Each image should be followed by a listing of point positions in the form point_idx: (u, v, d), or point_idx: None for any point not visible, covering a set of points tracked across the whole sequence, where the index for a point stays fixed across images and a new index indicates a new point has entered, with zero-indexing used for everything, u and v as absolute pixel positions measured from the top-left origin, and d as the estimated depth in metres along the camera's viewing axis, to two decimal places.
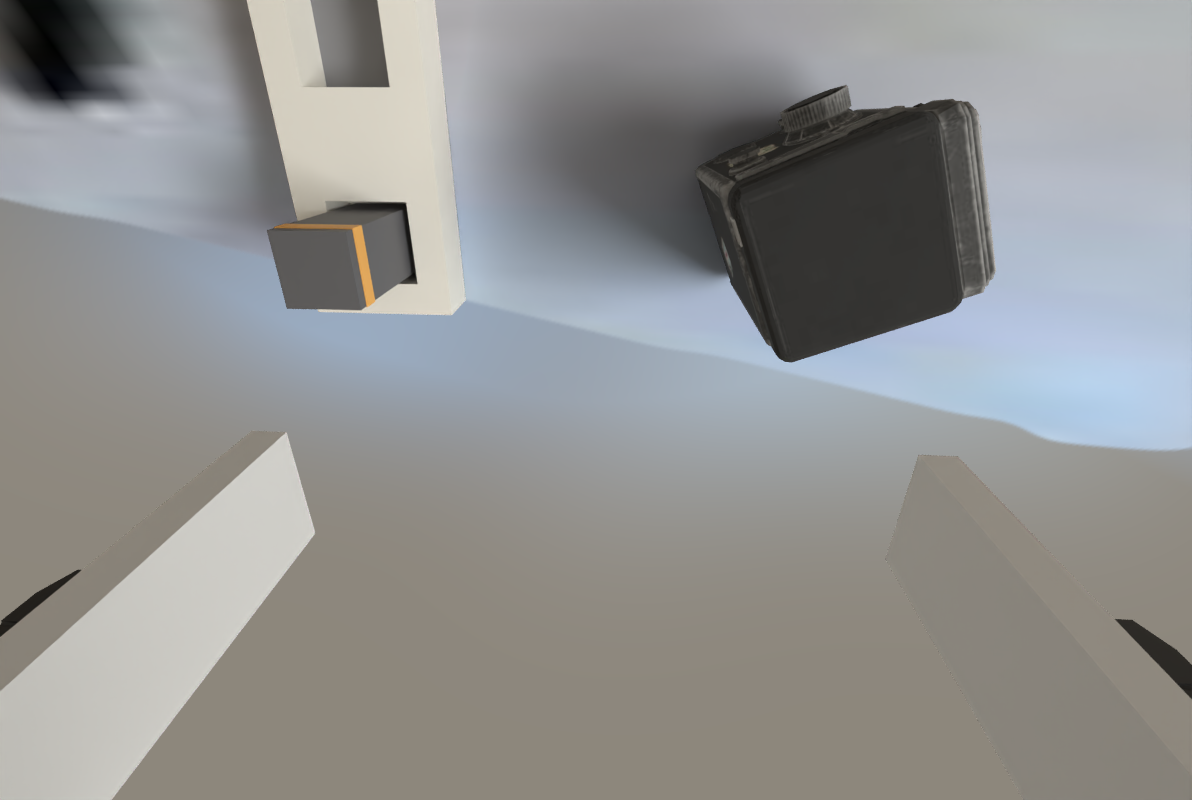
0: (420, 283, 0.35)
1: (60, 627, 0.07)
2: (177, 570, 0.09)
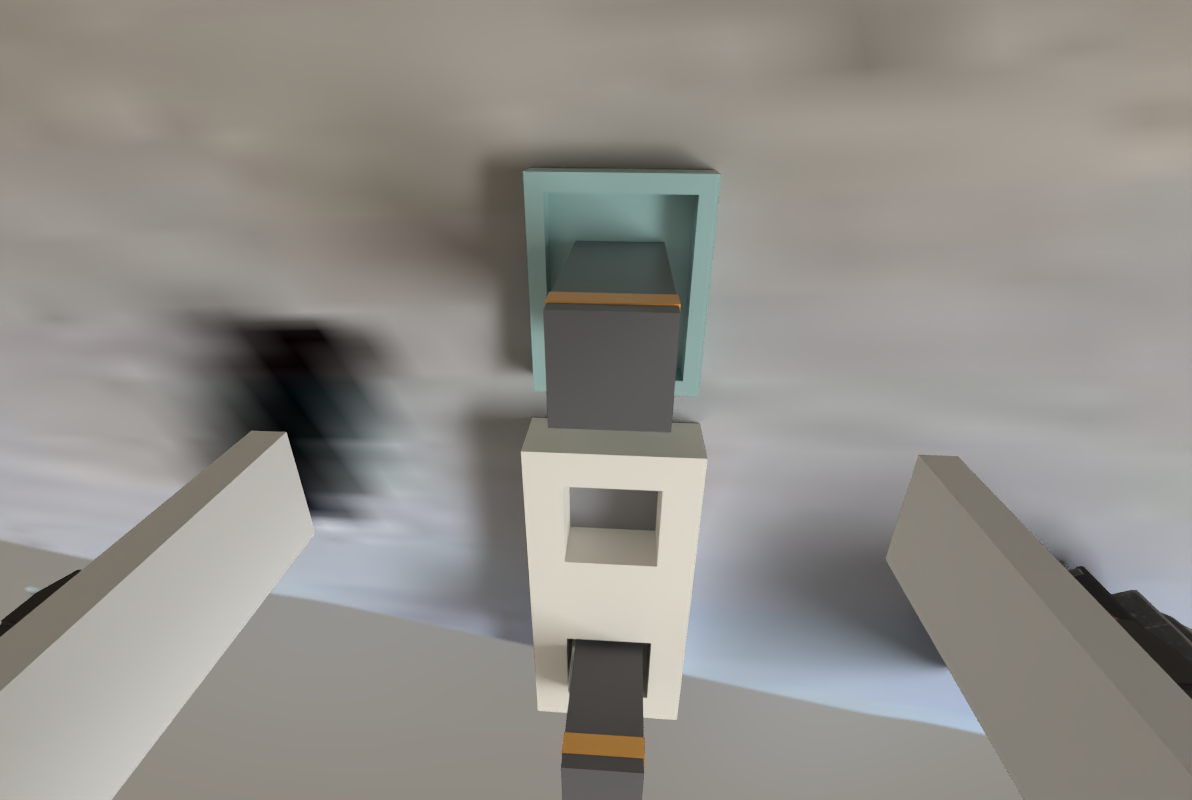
0: (650, 697, 0.35)
1: (60, 627, 0.07)
2: (177, 570, 0.09)
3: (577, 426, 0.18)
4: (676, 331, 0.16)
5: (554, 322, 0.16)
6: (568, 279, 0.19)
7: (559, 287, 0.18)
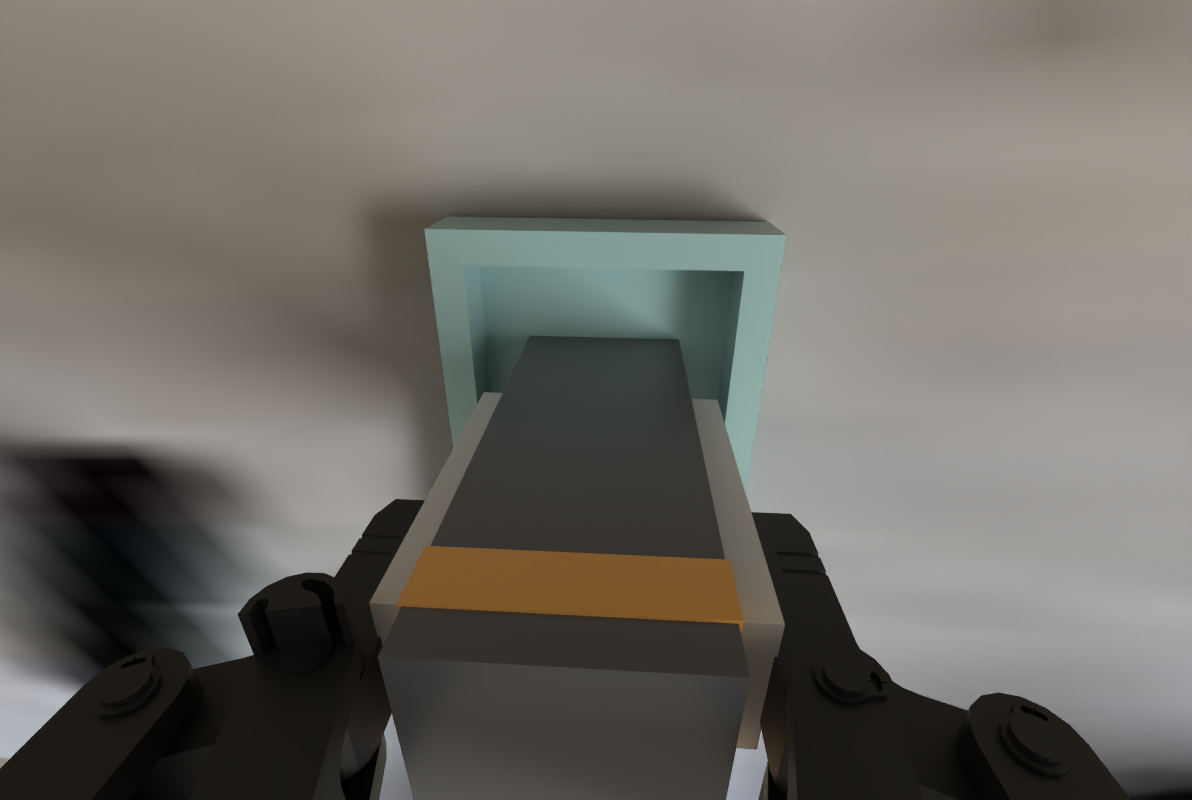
0: None
1: None
2: None
3: None
4: (736, 712, 0.06)
5: (413, 681, 0.06)
6: (486, 475, 0.09)
7: (456, 517, 0.08)
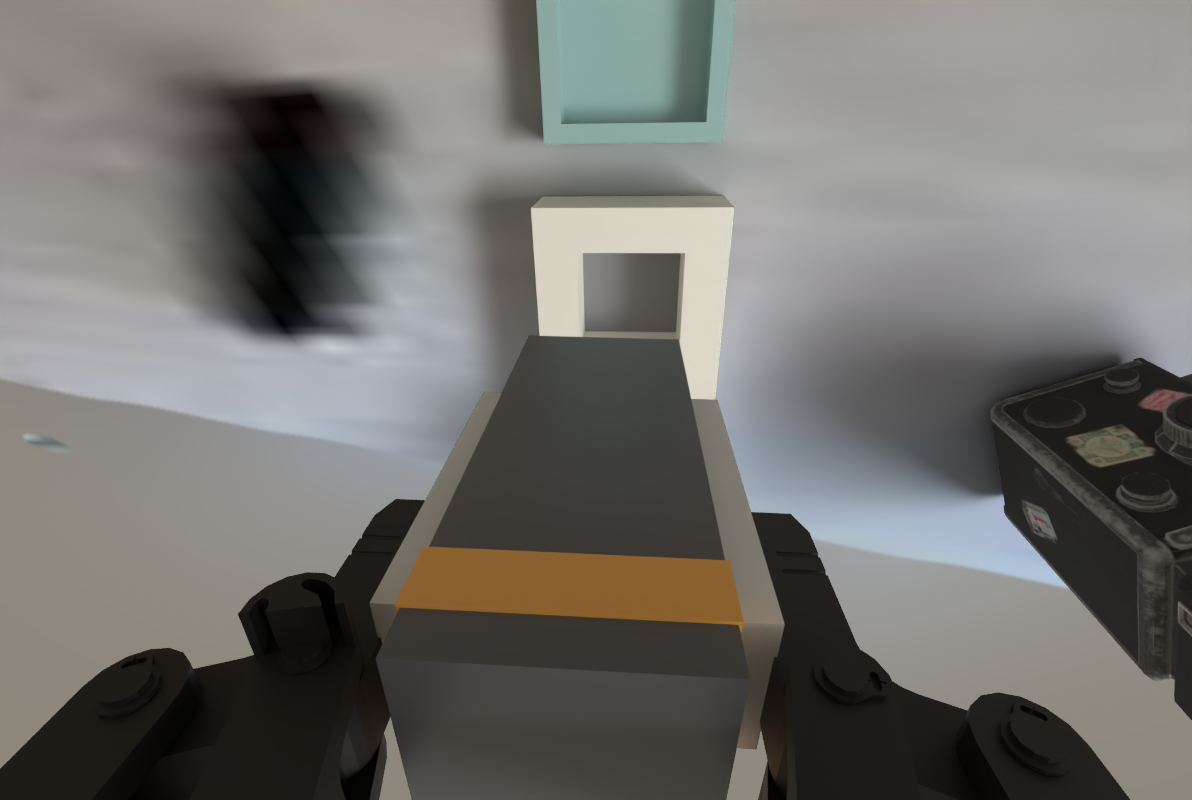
0: None
1: None
2: None
3: None
4: (736, 713, 0.06)
5: (410, 682, 0.06)
6: (485, 475, 0.09)
7: (455, 518, 0.08)
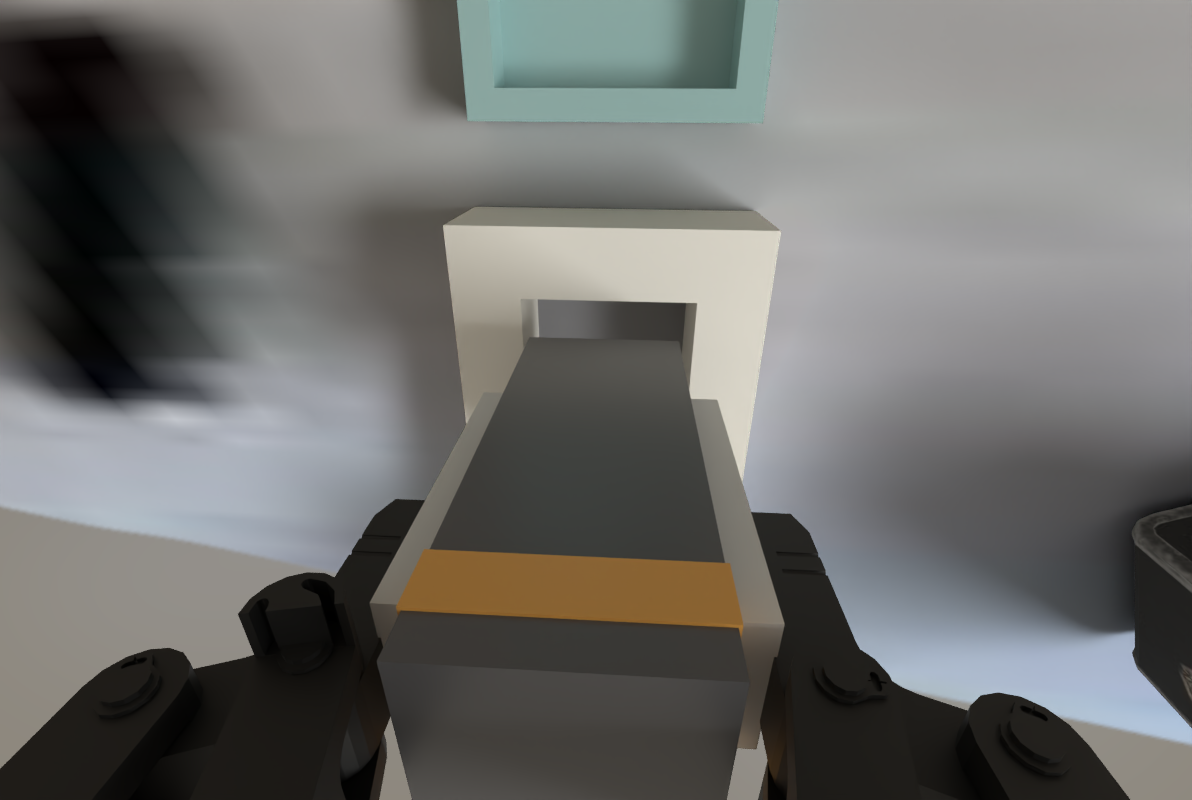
0: None
1: None
2: None
3: None
4: (736, 716, 0.06)
5: (411, 685, 0.06)
6: (485, 478, 0.09)
7: (456, 520, 0.08)
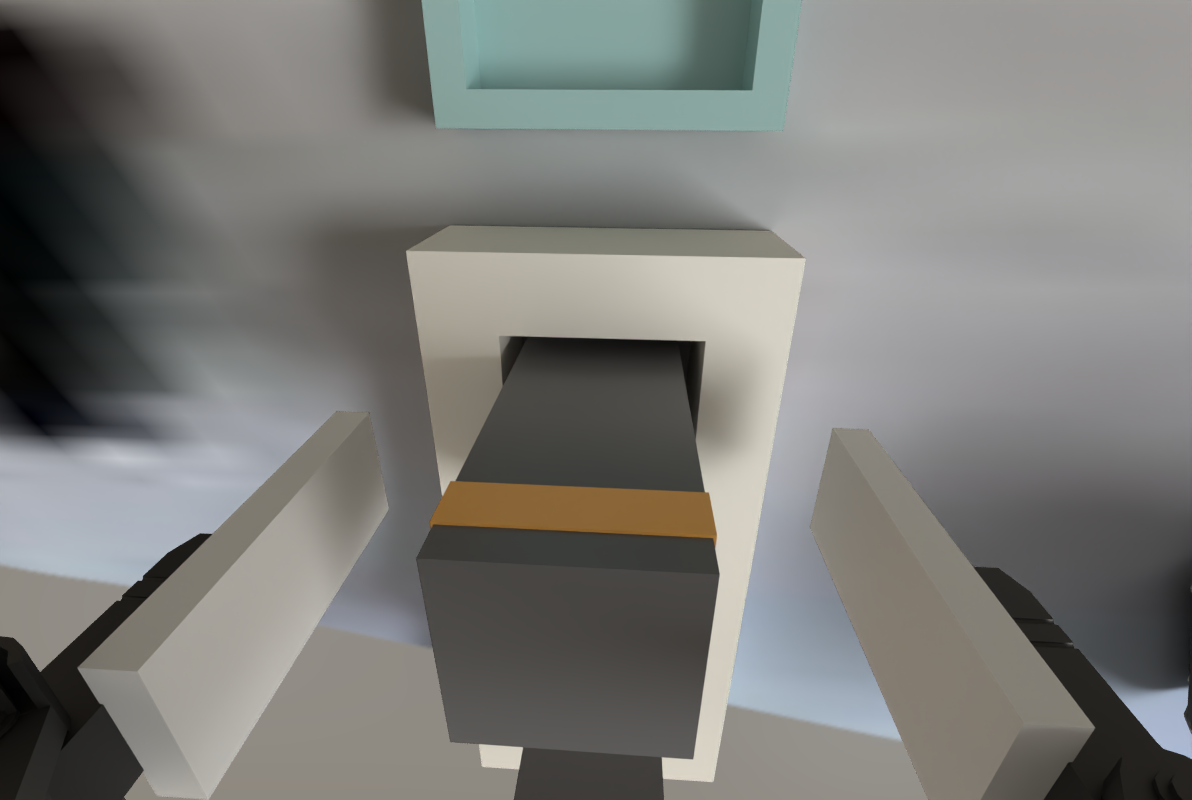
0: None
1: (213, 577, 0.08)
2: (293, 534, 0.10)
3: (507, 743, 0.09)
4: (709, 606, 0.07)
5: (444, 580, 0.08)
6: (500, 430, 0.10)
7: (476, 461, 0.09)
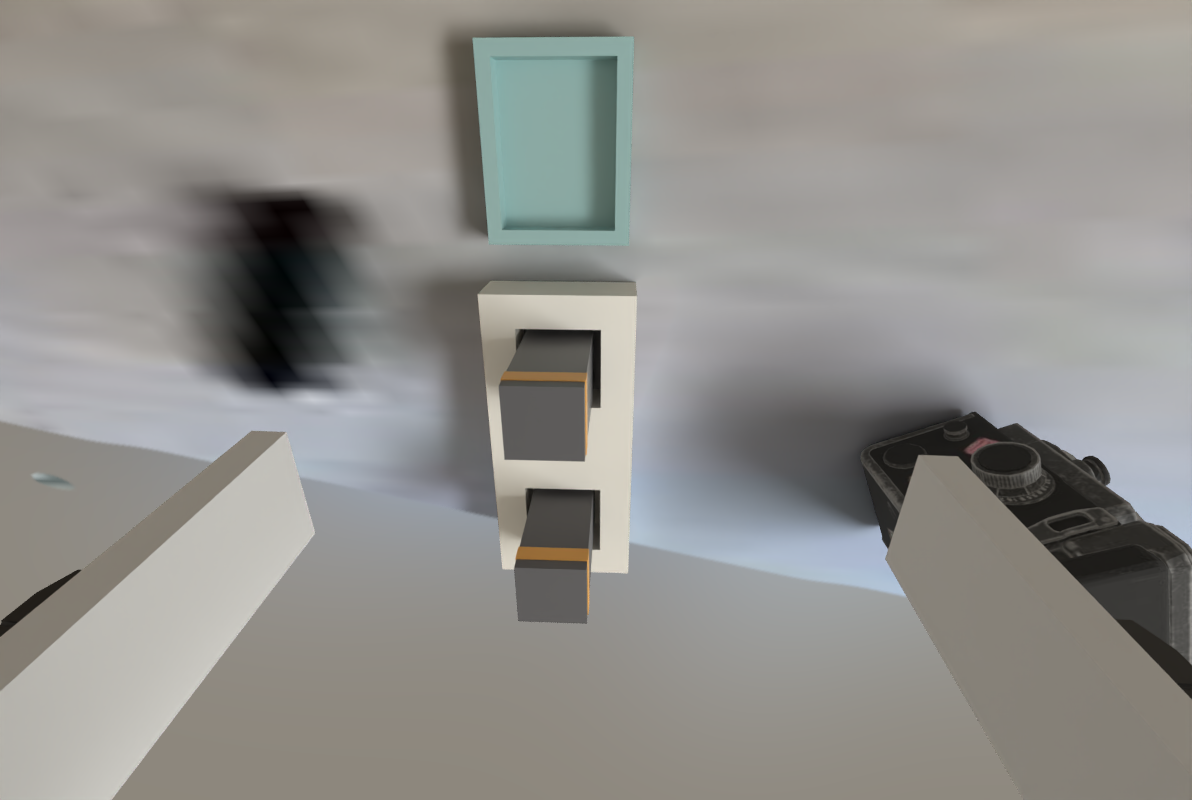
0: (602, 549, 0.39)
1: (60, 627, 0.07)
2: (177, 570, 0.09)
3: (523, 458, 0.27)
4: (582, 398, 0.26)
5: (506, 393, 0.26)
6: (519, 359, 0.29)
7: (511, 367, 0.28)
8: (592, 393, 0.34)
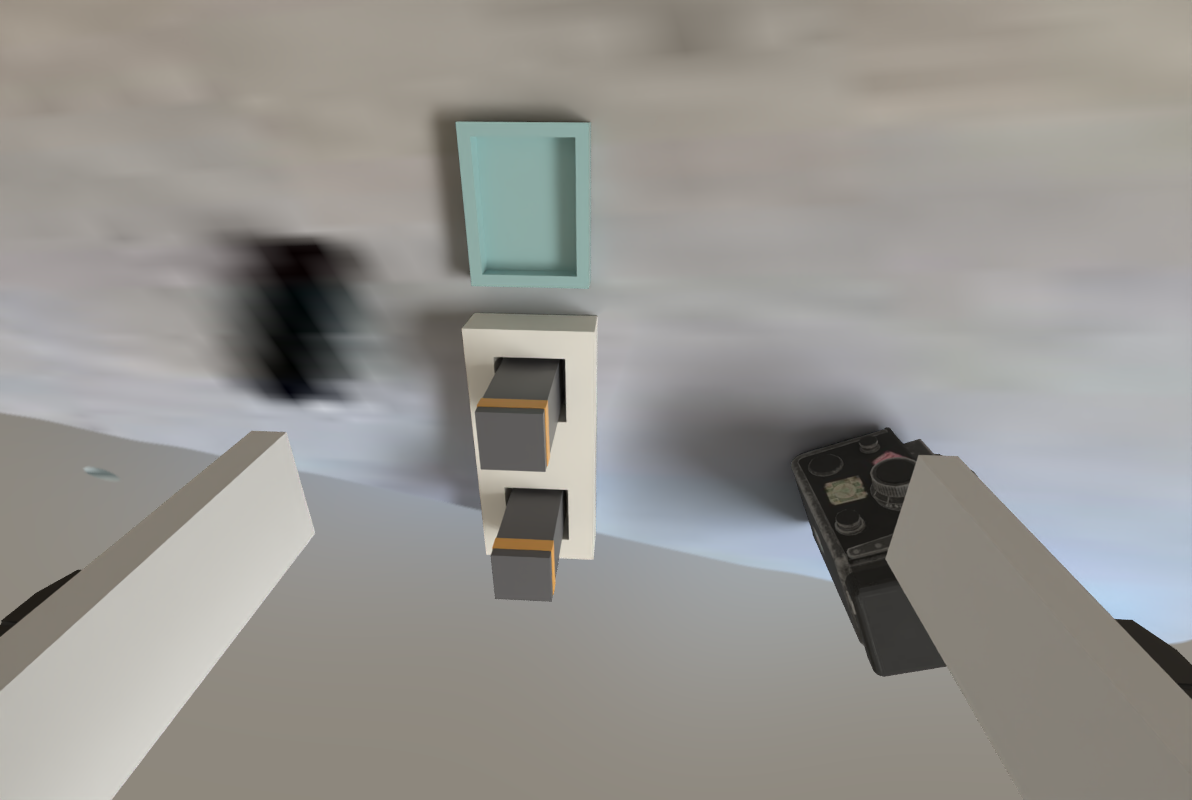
0: (571, 539, 0.45)
1: (60, 627, 0.07)
2: (177, 570, 0.09)
3: (496, 468, 0.34)
4: (541, 422, 0.32)
5: (480, 418, 0.32)
6: (494, 386, 0.35)
7: (487, 394, 0.34)
8: (559, 409, 0.40)
